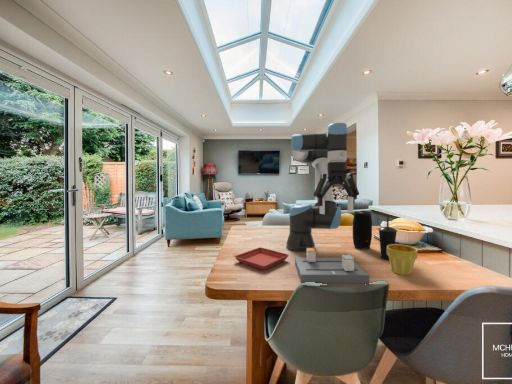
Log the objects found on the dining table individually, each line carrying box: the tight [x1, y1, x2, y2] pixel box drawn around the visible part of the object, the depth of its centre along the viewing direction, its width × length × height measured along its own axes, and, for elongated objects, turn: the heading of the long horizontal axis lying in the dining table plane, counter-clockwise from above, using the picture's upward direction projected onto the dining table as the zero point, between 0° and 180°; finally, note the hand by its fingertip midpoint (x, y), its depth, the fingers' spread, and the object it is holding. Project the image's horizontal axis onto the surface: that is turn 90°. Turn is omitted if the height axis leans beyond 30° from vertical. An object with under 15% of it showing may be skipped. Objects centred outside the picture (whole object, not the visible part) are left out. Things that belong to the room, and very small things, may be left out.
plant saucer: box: [234, 246, 290, 271], centre depth 106 cm, size 18×18×3 cm
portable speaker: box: [352, 210, 373, 250], centre depth 125 cm, size 9×9×20 cm
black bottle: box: [378, 215, 398, 261], centre depth 108 cm, size 8×8×20 cm
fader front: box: [341, 254, 355, 271], centre depth 88 cm, size 3×4×5 cm
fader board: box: [294, 257, 370, 284], centre depth 93 cm, size 24×18×3 cm
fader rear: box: [305, 248, 317, 262], centre depth 97 cm, size 3×4×4 cm
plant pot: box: [387, 243, 419, 276], centre depth 93 cm, size 10×10×10 cm
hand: (336, 213), depth 98 cm, fingers open, 13 cm apart
